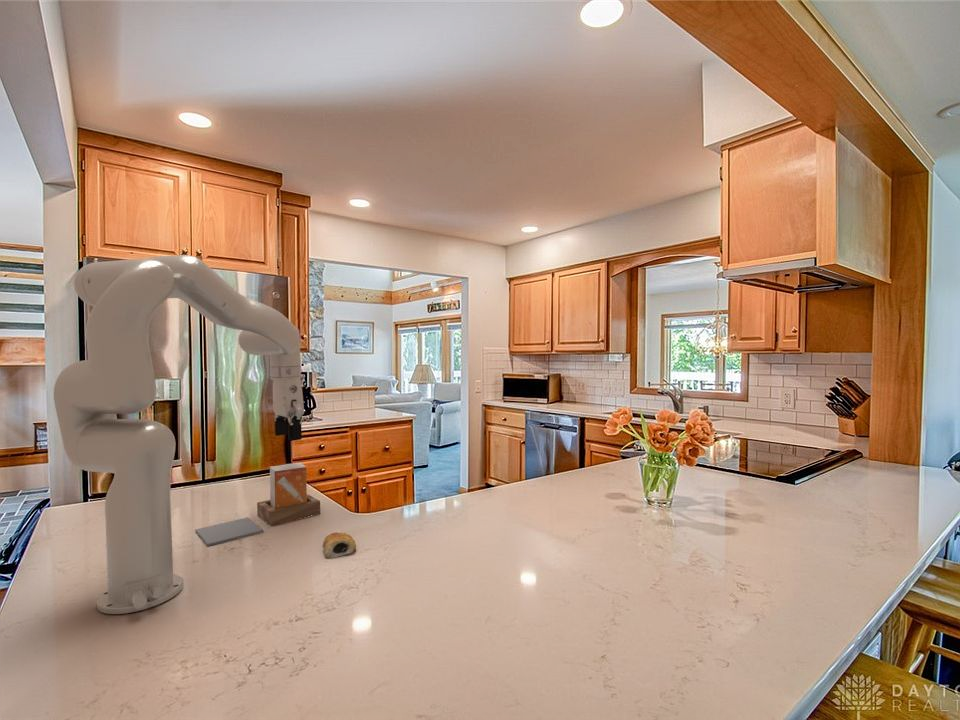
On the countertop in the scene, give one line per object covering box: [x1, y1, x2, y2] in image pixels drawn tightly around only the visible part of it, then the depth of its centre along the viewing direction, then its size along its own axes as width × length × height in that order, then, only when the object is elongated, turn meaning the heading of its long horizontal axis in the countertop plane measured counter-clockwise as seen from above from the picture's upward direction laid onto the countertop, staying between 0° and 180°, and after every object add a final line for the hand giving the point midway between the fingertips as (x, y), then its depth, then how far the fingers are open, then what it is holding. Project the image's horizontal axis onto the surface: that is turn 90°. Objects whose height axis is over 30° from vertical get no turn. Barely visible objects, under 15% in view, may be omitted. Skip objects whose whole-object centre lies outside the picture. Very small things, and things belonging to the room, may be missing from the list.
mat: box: [194, 516, 264, 547], centre depth 115 cm, size 12×12×1 cm
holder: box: [256, 493, 321, 527], centre depth 127 cm, size 11×13×4 cm
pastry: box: [322, 532, 357, 559], centre depth 105 cm, size 9×7×4 cm
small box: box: [269, 462, 308, 509], centre depth 127 cm, size 8×6×13 cm
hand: (288, 437), depth 127 cm, fingers open, 9 cm apart
